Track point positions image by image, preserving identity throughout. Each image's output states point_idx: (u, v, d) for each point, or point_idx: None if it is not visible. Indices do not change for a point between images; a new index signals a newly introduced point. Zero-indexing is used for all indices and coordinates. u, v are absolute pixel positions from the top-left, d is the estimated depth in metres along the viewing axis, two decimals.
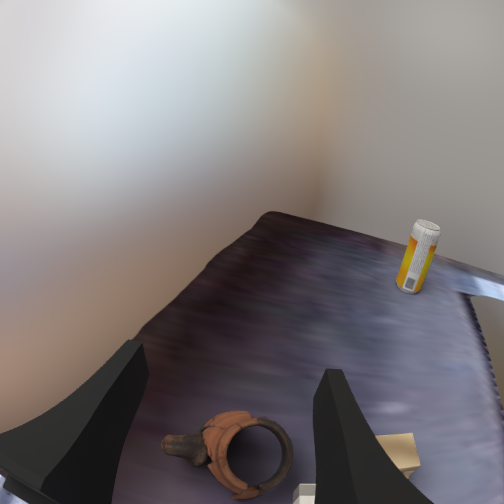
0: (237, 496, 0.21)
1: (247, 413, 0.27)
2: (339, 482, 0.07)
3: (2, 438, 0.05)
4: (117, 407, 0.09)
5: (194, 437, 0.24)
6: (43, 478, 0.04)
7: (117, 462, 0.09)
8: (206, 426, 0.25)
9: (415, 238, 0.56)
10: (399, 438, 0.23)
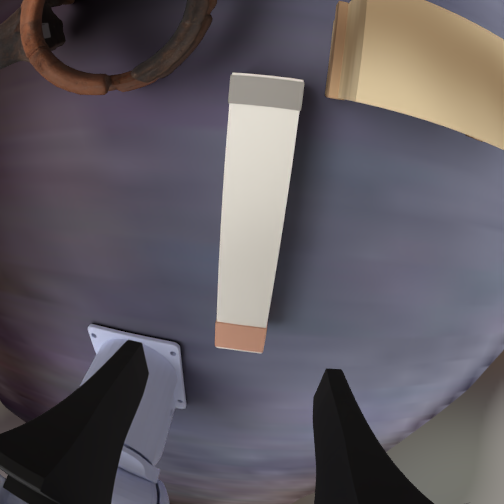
0: None
1: None
2: (339, 482, 0.07)
3: (2, 438, 0.05)
4: (117, 407, 0.09)
5: (6, 25, 0.07)
6: (43, 478, 0.04)
7: (117, 462, 0.09)
8: None
9: None
10: (500, 51, 0.06)
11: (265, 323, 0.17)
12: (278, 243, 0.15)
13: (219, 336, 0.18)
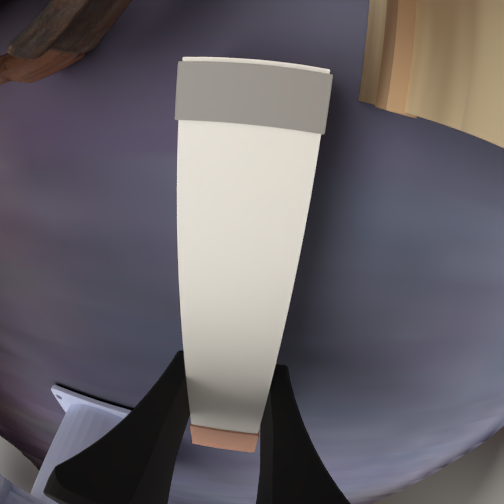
0: (24, 80, 0.06)
1: None
2: (267, 481, 0.07)
3: (61, 471, 0.05)
4: (175, 422, 0.09)
5: None
6: None
7: (171, 477, 0.09)
8: None
9: None
10: None
11: (256, 430, 0.11)
12: (275, 354, 0.09)
13: (197, 437, 0.12)
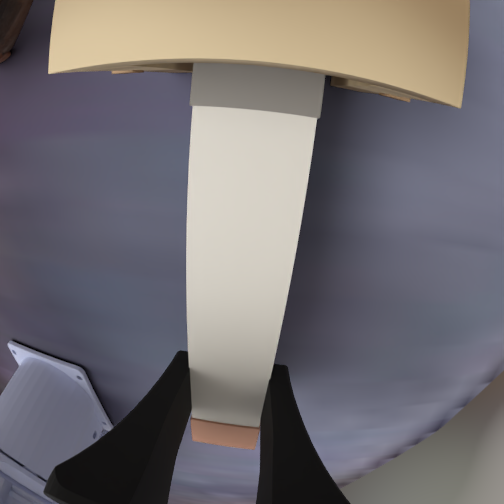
0: None
1: None
2: (267, 481, 0.07)
3: (61, 470, 0.05)
4: (175, 422, 0.09)
5: None
6: None
7: (171, 477, 0.09)
8: None
9: None
10: None
11: (257, 423, 0.11)
12: (277, 334, 0.09)
13: (197, 432, 0.12)
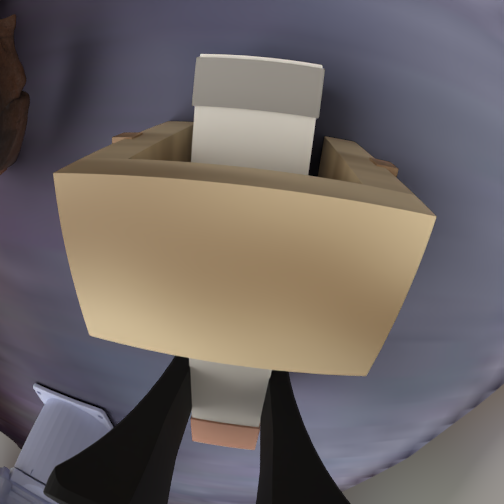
0: None
1: None
2: (267, 481, 0.07)
3: (61, 471, 0.05)
4: (175, 422, 0.09)
5: None
6: None
7: (171, 477, 0.09)
8: None
9: None
10: (338, 230, 0.05)
11: (257, 422, 0.11)
12: None
13: (197, 432, 0.12)
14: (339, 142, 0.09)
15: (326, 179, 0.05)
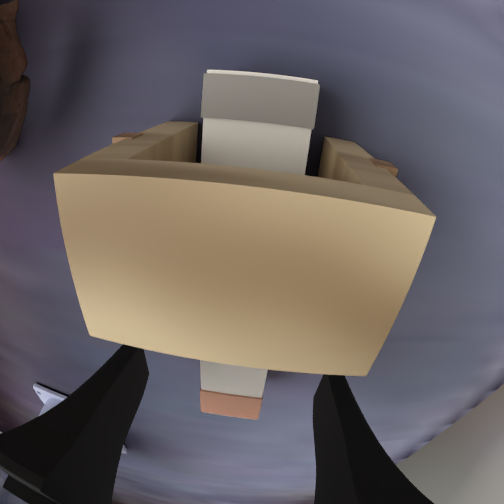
0: None
1: None
2: (339, 482, 0.07)
3: (2, 438, 0.05)
4: (117, 407, 0.09)
5: None
6: (43, 478, 0.04)
7: (117, 462, 0.09)
8: None
9: None
10: (338, 230, 0.05)
11: (260, 393, 0.13)
12: None
13: (205, 403, 0.14)
14: (339, 142, 0.09)
15: (326, 179, 0.05)
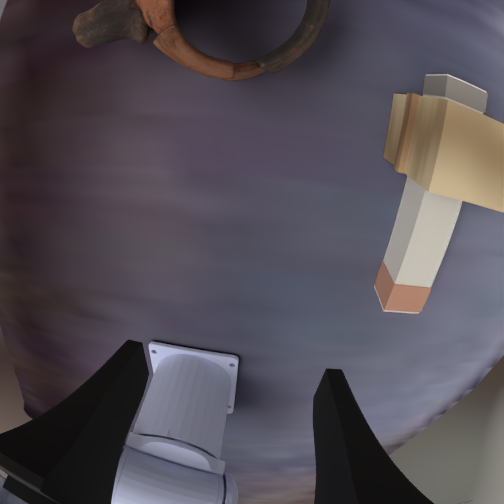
0: (228, 79, 0.14)
1: None
2: (339, 482, 0.07)
3: (2, 438, 0.05)
4: (117, 407, 0.09)
5: (115, 0, 0.09)
6: (43, 478, 0.04)
7: (117, 462, 0.09)
8: None
9: None
10: None
11: (431, 283, 0.18)
12: (458, 211, 0.15)
13: (392, 298, 0.18)
14: None
15: None
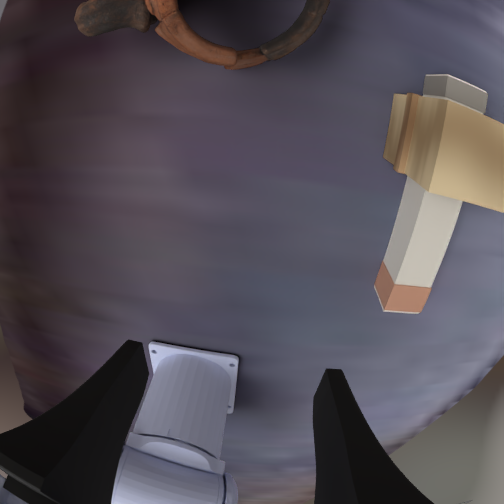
0: (230, 67, 0.14)
1: None
2: (339, 482, 0.07)
3: (2, 438, 0.05)
4: (117, 407, 0.09)
5: None
6: (43, 478, 0.04)
7: (117, 462, 0.09)
8: None
9: None
10: None
11: (431, 283, 0.18)
12: (458, 211, 0.15)
13: (392, 298, 0.18)
14: None
15: None
